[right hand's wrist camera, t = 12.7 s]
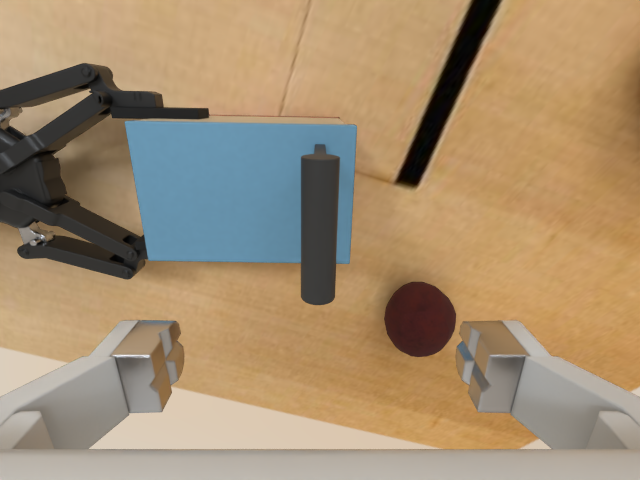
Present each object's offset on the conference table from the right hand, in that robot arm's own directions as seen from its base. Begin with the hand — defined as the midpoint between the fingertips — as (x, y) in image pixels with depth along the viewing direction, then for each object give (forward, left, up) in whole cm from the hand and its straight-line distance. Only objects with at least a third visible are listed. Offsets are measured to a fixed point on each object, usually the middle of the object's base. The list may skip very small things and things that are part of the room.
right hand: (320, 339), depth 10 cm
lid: (+5, -1, -17) cm, 18 cm away
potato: (-8, +17, -27) cm, 33 cm away
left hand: (+9, -2, -21) cm, 23 cm away
